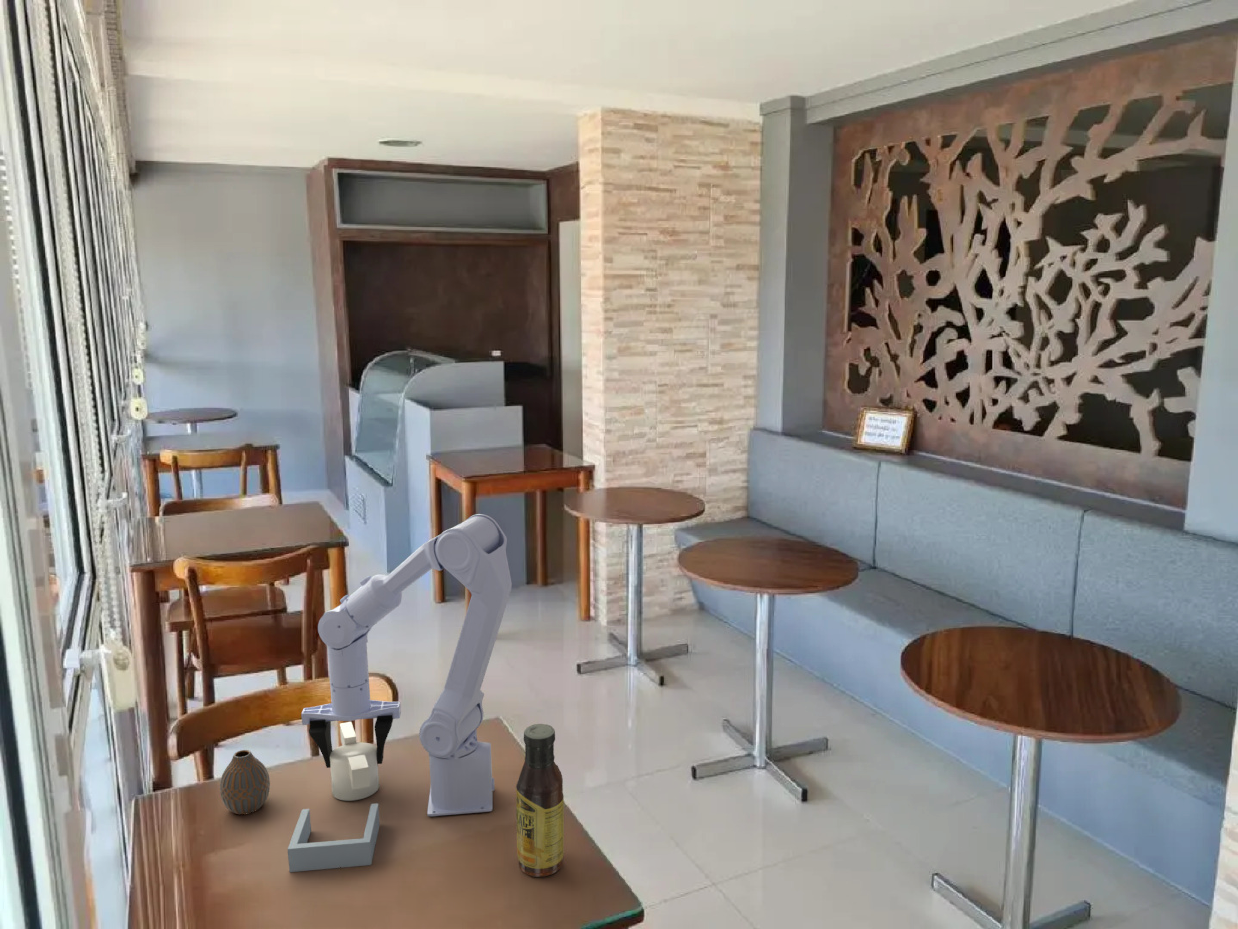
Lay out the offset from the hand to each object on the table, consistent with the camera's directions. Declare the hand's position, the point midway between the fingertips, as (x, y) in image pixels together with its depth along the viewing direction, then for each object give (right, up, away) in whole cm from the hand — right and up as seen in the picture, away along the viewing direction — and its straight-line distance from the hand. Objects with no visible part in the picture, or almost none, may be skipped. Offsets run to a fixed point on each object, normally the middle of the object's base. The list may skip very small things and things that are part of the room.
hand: (355, 762), depth 143 cm
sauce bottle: (+31, -8, -20) cm, 37 cm away
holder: (+2, -7, -15) cm, 16 cm away
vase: (-15, -5, -5) cm, 16 cm away
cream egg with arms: (0, -4, 0) cm, 4 cm away
